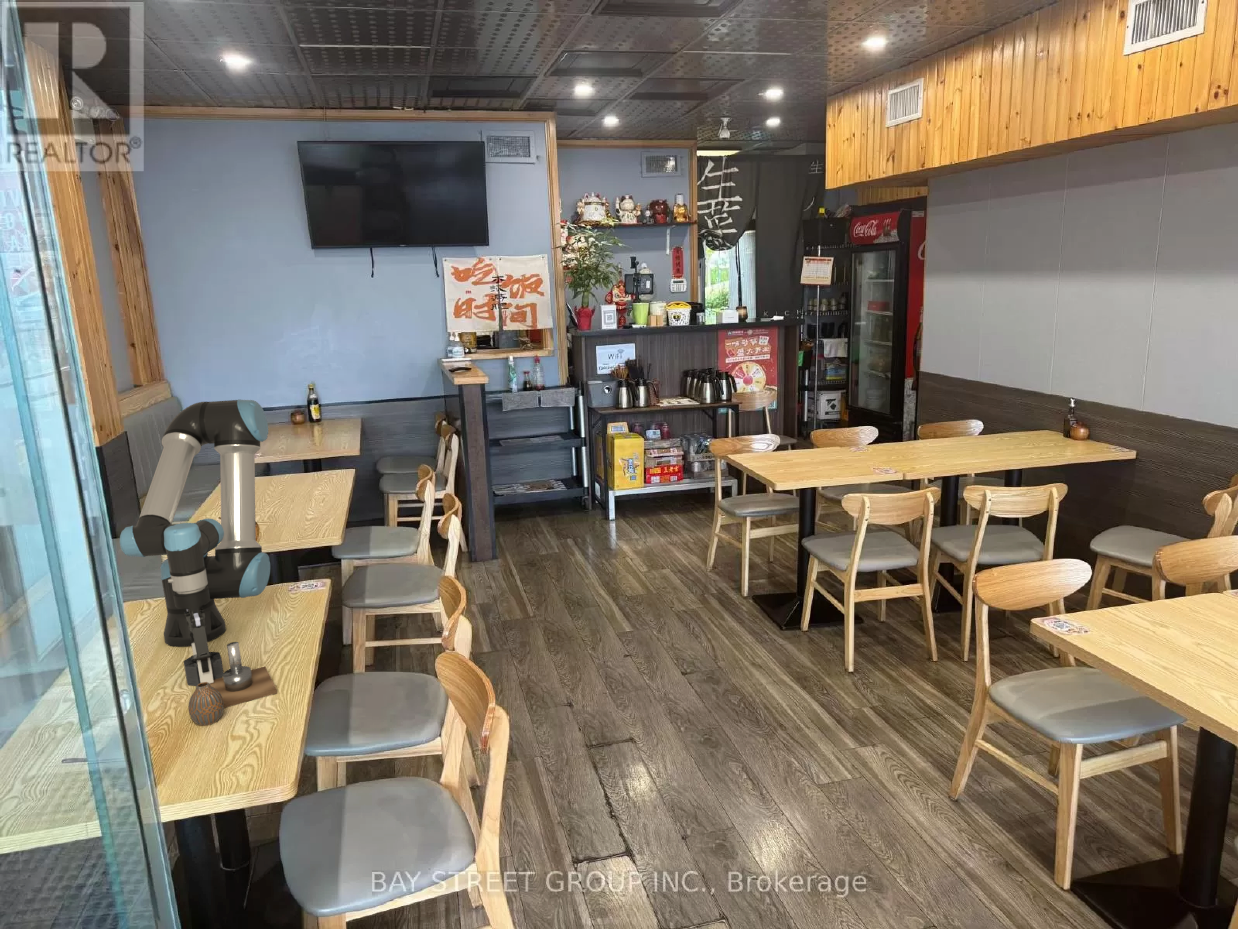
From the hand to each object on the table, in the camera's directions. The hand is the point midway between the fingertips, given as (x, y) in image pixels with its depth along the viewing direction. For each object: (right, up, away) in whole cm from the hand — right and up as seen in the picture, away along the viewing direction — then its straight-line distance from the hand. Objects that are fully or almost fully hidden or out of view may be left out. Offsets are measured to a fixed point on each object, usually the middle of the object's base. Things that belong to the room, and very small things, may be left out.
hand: (204, 675), depth 202 cm
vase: (+10, -5, -19) cm, 22 cm away
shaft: (+11, -1, -6) cm, 13 cm away
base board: (+11, -2, -6) cm, 13 cm away
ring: (0, -1, +1) cm, 2 cm away
